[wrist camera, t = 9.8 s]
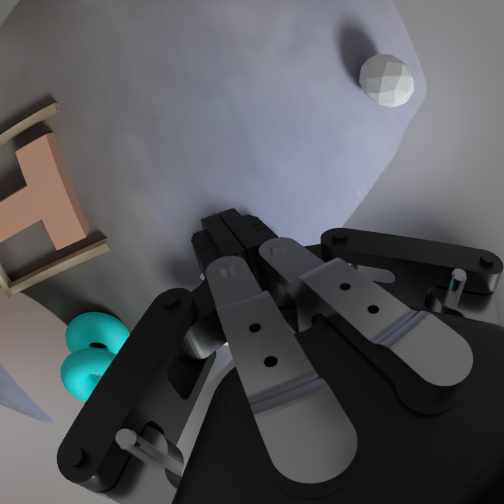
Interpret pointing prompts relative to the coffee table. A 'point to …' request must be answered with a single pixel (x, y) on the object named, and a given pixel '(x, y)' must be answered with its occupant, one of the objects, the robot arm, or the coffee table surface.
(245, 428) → the robot arm
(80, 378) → the donuts
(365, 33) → the coffee table surface
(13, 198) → the t piece
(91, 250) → the frame
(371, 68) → the geometric ball
